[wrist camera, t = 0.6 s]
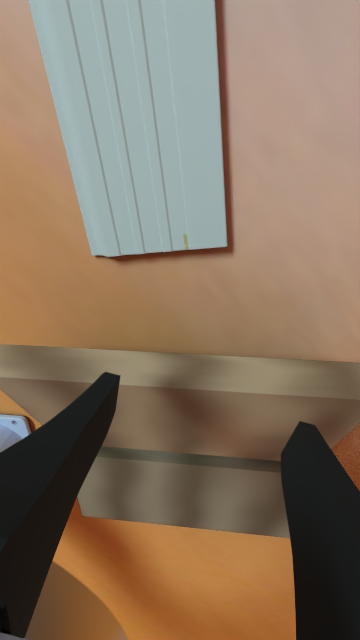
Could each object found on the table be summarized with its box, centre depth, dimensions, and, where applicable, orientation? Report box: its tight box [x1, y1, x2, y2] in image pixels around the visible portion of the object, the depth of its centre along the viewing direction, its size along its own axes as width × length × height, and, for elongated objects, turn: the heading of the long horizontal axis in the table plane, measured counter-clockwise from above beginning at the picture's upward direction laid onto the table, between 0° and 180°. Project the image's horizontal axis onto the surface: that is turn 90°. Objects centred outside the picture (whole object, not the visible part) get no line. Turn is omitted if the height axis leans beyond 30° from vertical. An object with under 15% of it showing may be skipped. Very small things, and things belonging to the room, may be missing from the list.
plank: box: [0, 344, 360, 461], centre depth 22 cm, size 20×12×2 cm, turn 91°
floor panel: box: [77, 446, 290, 538], centre depth 29 cm, size 20×10×2 cm, turn 91°
